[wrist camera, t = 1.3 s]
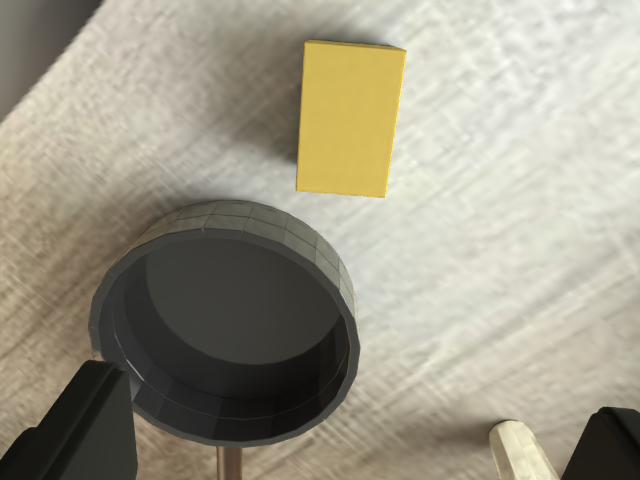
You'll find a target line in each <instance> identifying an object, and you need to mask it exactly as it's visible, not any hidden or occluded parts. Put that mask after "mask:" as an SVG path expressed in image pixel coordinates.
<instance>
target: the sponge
mask: <svg viewBox="0 0 640 480" xmlns="http://www.w3.org/2000/svg"><path fill="white" fill-rule="evenodd" d="M406 54H407V51H406V50H403V49H400V48H397V47H394V46H385V45H373V44H361V43H350V42H338V41H326V40H314V39H309V40H307V41H306V42H305V43H304V54H303V71H302V89H301V106H300V124H299V141H298V158H297V176H296V191H305V192H317V193H329V194H342V195H354V196H367V197H379V198H385V197H386V191H387V184H388V177H389V170H390V164H391V157H392V150H393V143H394V136H395V129H396V123H397V116H398V109H399V102H400V95H401V88H402V82H403V75H404V68H405V61H406Z"/></svg>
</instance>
